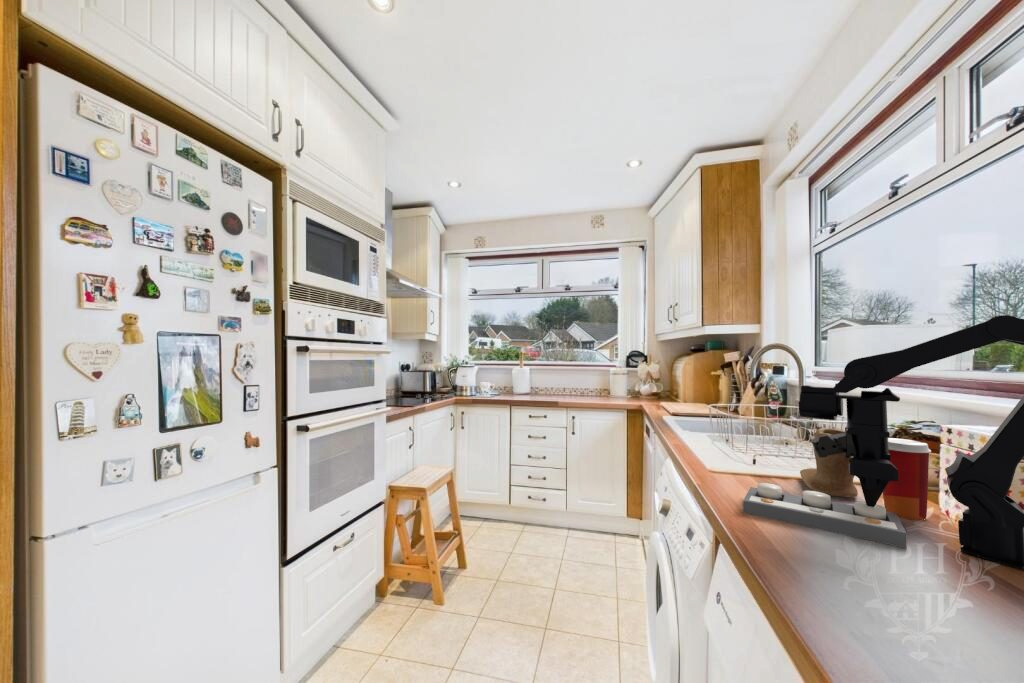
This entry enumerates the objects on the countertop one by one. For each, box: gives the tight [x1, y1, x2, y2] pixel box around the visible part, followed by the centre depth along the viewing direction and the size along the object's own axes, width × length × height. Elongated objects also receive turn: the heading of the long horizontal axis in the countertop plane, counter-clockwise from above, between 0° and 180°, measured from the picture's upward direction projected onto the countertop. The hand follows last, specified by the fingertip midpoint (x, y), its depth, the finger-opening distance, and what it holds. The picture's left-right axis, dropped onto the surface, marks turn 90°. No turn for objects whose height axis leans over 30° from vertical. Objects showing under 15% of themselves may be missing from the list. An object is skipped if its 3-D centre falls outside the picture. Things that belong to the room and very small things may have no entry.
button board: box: [742, 486, 908, 549], centre depth 77 cm, size 24×11×3 cm, turn 51°
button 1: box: [756, 482, 783, 499], centre depth 83 cm, size 4×4×2 cm
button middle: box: [802, 490, 831, 509], centre depth 78 cm, size 4×4×2 cm
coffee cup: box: [882, 437, 932, 521], centre depth 80 cm, size 8×8×15 cm
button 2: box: [853, 501, 886, 521], centre depth 73 cm, size 4×4×2 cm
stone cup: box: [799, 427, 859, 499], centre depth 94 cm, size 15×12×15 cm
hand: (870, 505), depth 73 cm, fingers closed, pressing on button 2
